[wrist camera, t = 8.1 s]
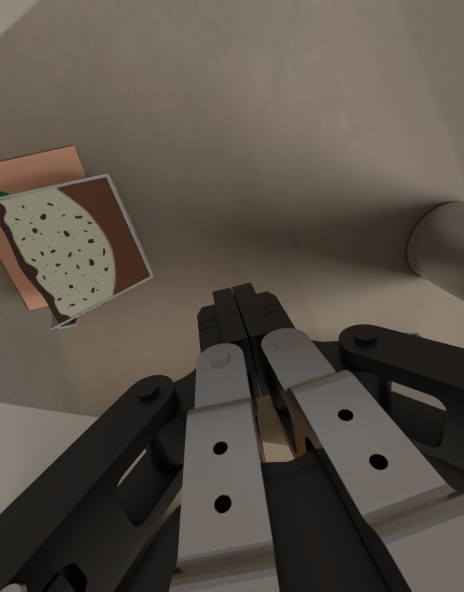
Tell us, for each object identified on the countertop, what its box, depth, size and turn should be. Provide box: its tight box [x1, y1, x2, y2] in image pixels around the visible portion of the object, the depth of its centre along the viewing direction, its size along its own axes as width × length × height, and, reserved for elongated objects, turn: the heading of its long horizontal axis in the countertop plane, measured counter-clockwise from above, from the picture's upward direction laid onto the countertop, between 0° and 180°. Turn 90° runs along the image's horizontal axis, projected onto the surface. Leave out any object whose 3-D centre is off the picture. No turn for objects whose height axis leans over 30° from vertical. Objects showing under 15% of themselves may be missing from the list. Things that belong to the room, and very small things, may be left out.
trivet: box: [0, 146, 86, 310], centre depth 32 cm, size 10×14×1 cm
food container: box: [0, 173, 154, 330], centre depth 30 cm, size 12×6×10 cm
